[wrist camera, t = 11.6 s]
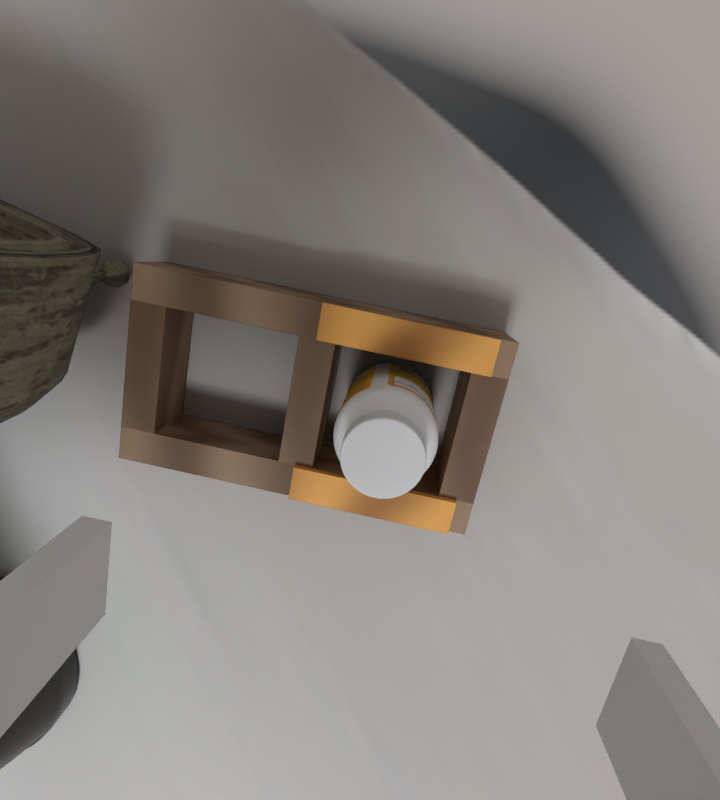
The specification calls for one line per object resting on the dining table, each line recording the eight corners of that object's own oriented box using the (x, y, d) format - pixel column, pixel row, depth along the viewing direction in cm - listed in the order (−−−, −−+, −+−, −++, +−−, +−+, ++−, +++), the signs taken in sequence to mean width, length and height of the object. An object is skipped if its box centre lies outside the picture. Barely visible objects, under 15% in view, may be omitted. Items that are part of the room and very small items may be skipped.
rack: (150, 435, 35) (115, 459, 31) (166, 262, 32) (129, 262, 28) (458, 503, 34) (465, 537, 30) (504, 332, 31) (520, 344, 27)
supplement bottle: (353, 447, 34) (332, 518, 25) (341, 366, 33) (315, 409, 23) (436, 439, 33) (447, 509, 24) (428, 356, 32) (436, 396, 23)
